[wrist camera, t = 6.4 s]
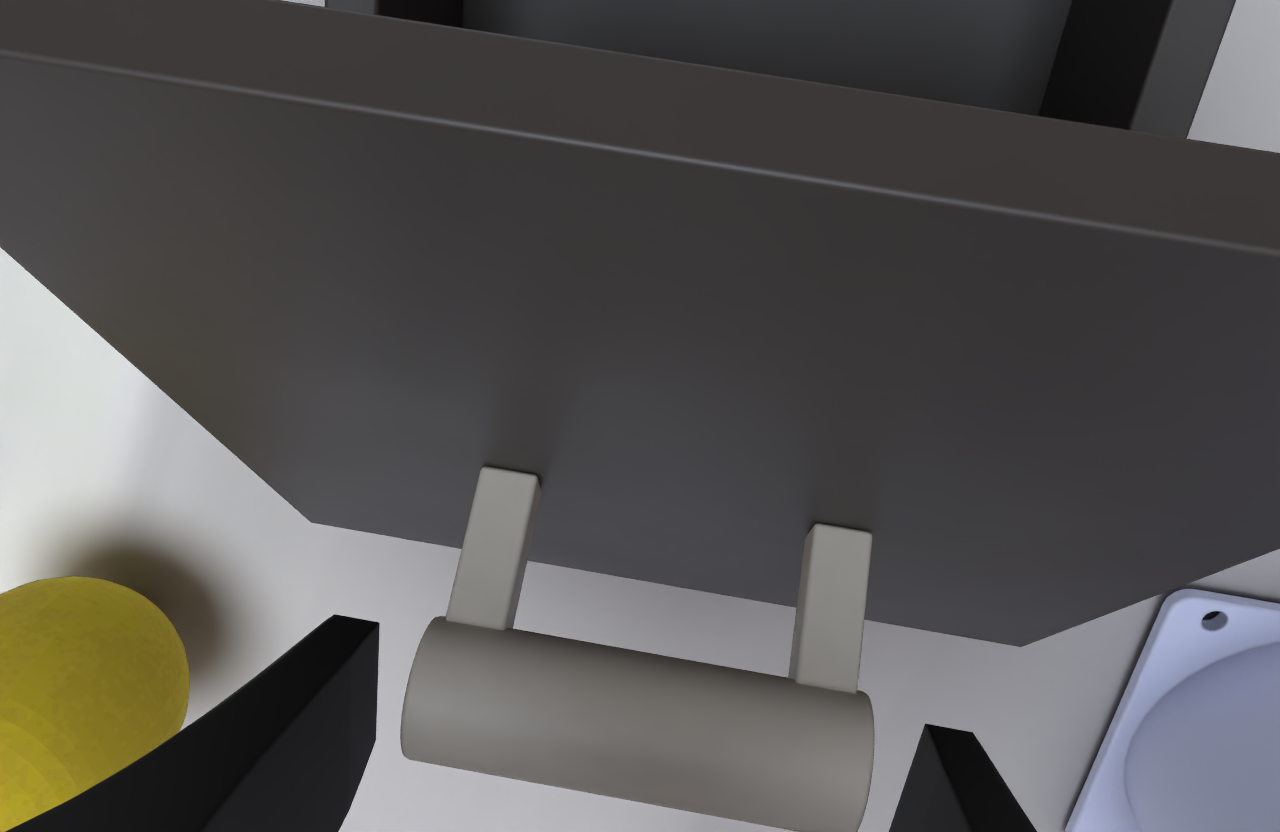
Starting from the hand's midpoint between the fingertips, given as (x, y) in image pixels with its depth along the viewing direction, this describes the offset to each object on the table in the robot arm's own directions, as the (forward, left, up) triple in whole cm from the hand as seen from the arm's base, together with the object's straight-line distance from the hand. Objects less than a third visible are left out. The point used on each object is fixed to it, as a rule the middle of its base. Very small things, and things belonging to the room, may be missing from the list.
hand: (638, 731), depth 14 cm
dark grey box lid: (0, -4, 0) cm, 4 cm away
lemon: (+13, +8, -10) cm, 18 cm away
